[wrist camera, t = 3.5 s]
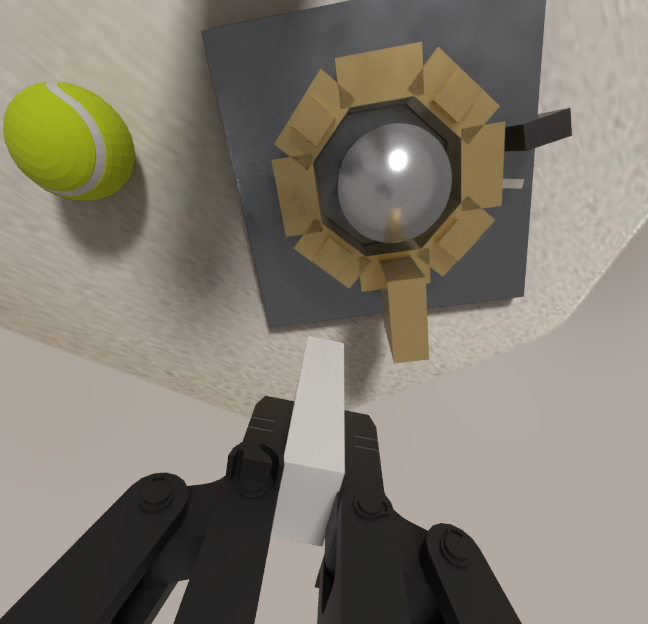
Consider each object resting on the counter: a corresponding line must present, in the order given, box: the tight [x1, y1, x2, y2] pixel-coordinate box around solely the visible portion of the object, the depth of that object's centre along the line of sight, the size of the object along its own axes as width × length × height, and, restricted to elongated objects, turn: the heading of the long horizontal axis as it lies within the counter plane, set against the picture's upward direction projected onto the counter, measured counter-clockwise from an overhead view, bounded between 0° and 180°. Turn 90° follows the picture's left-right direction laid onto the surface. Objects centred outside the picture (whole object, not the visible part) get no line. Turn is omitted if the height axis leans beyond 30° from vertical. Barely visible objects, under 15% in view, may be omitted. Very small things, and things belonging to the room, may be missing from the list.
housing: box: [201, 0, 572, 327], centre depth 22 cm, size 20×20×7 cm
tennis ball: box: [3, 82, 135, 201], centre depth 22 cm, size 7×7×7 cm
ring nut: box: [271, 42, 505, 363], centre depth 21 cm, size 16×13×8 cm
